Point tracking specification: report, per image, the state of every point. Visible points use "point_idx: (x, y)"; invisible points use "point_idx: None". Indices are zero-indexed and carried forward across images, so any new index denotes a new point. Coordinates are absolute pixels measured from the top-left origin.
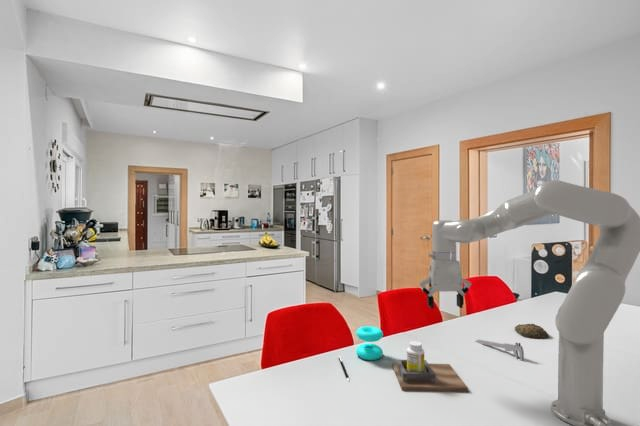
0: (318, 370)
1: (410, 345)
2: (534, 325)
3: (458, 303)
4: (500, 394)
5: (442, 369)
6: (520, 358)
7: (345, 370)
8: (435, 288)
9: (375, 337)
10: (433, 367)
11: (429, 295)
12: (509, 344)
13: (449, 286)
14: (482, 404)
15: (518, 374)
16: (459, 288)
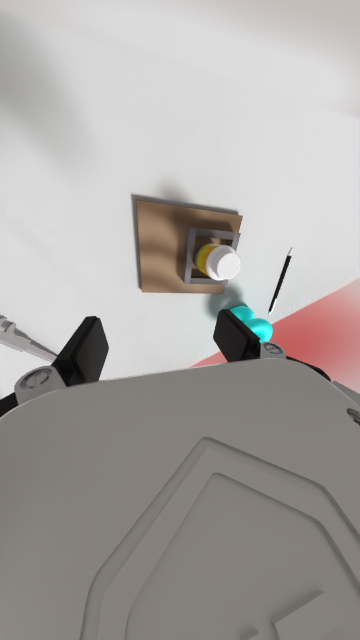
0: (306, 279)
1: (239, 261)
2: None
3: (100, 343)
4: (74, 182)
5: (159, 273)
6: (5, 319)
7: (283, 276)
8: (311, 373)
9: (254, 320)
10: (170, 280)
11: (269, 348)
12: (12, 344)
13: (183, 421)
14: (123, 140)
15: (19, 265)
16: (30, 418)
